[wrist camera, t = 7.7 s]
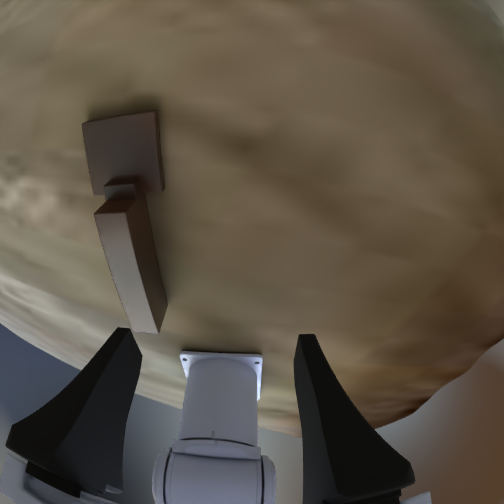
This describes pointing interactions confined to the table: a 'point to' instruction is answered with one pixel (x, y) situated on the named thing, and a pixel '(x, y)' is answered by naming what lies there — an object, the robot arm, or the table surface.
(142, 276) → the spatula
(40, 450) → the robot arm
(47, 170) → the table surface
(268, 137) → the table surface
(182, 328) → the table surface
